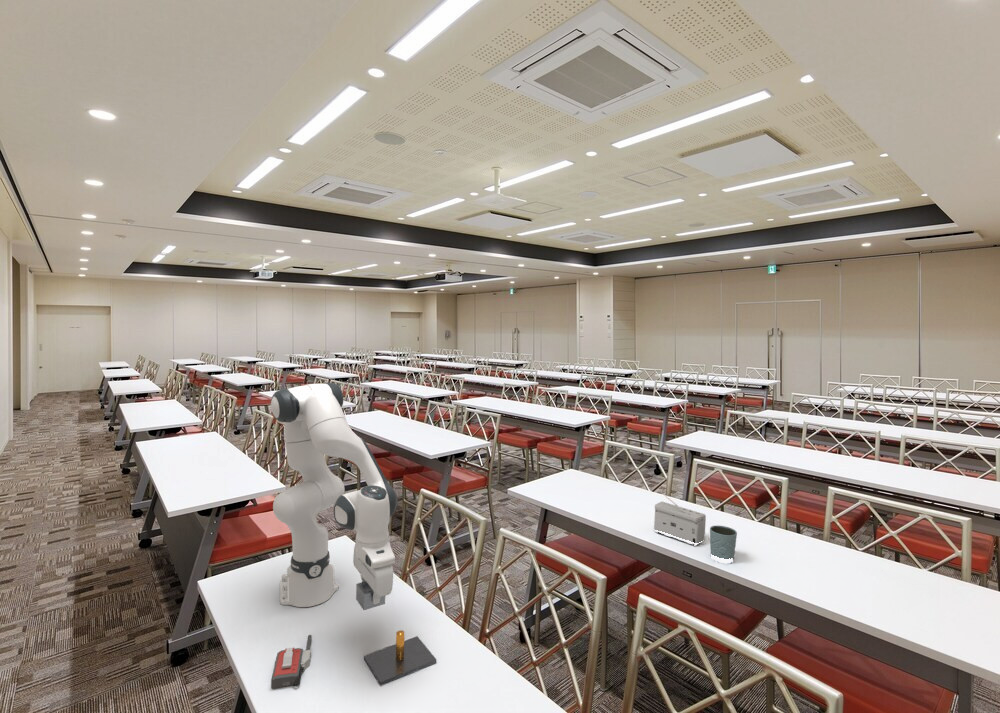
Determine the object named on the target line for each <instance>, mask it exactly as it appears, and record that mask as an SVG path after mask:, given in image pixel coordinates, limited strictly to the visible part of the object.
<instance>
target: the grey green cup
mask: <svg viewBox="0 0 1000 713" xmlns="http://www.w3.org/2000/svg"><path fill="white" fill-rule="evenodd" d="M737 536H738V532H737V531H736V529H734V528H732V527H730V526H729V527H728V526H726V525H725V526H724V525H712V526H710V527H709V543H710V548H709V549H710V555H711V554H712V555H714V556H717V557H719V558H724V559H729V558H730V559H731V558H734V559H735V552H736V550H735V549H736V547H737V546H736V544H737V538H738V537H737Z"/></svg>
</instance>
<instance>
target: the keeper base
mask: <svg viewBox="0 0 1000 713" xmlns="http://www.w3.org/2000/svg"><path fill="white" fill-rule="evenodd" d="M395 640H396V641H395V644H392V645H389V646H386V647H384V648H381V649H378V650H376V651H373V652H370V653H367V654H365V655H363V660H364V662H365V664H366V666H367V668H369V670H370V672H371V673H372V675H373V677H374V679H375V680H376V682H377V683H378V685H379V686H380V687H382V686H383V685H386V684H389V683H390V682H393V681H396V680H398V679H401V678H404V677H406V676H408V675H410V674H412V673H415V672H418V671H420V670H422V669H425V668H427V667H430V666H432V665H435V664H437V658H436V657H435V655H433V652H431V651H430V650H429V648H428V647H427V646H426V645H425V643H424V642H423V641H422V640H421V639H420V637H419V636H418V635H416V636H414V637H411V638H408V639H405V631H404V630H397V631H396V634H395Z"/></svg>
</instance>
